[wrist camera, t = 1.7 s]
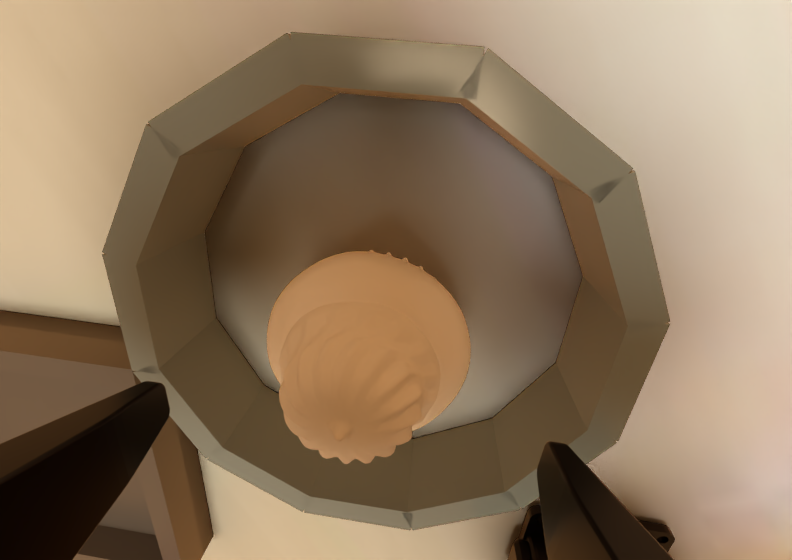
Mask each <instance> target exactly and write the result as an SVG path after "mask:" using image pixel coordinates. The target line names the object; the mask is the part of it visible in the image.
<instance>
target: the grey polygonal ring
mask: <svg viewBox="0 0 792 560" xmlns="http://www.w3.org/2000/svg"><path fill="white" fill-rule="evenodd" d="M483 54H484V47H482V46H468V45H455V44H442V43H429V42H416V41H403V40H389V39H376V38H363V37H350V36H337V35H324V34H310V33H297V32H291V35H290V34H288V33H286V34H284V35H283V36H281V37H280V38H278V39H277V40H275V41H274V42H272V43H270V44H269V45H267V46H266V47H264V48H263V49H261V50H259V51H258V52H256V53H255V54H253V55H252V56H250V57H249V58H247V59H245V60H244V61H242V62H241V63H239V64H238V65H236V66H234V67H233V68H231V69H230V70H228V71H227V72H225V73H224V74H222V75H220V76H219V77H217V78H216V79H214V80H213V81H211V82H210V83H208V84H206V85H205V86H203V87H202V88H200V89H199V90H197V91H195V92H194V93H192V94H191V95H189V96H188V97H186V98H185V99H183V100H181V101H180V102H178V103H177V104H175V105H174V106H172V107H170V108H169V109H167V110H166V111H164V112H163V113H161V114H160V115H158V116H156V117H155V118H153V119H152V120H150V121H149V122H148V123H149V124H146V126H145V129H144V132H143V135H142V138H141V141H140V144H139V147H138V149H137V152H136V155H135V158H134V161H133V164H132V167H131V170H130V173H129V176H128V179H127V181H126V184H125V187H124V190H123V193H122V196H121V199H120V202H119V205H118V208H117V211H116V213H115V216H114V219H113V222H112V225H111V228H110V231H109V234H108V237H107V240H106V243H105V245H104V248H103V251H102V252H103V253H105V254H102V256H103V259H104V263H105V267H106V271H107V275H108V279H109V283H110V287H111V291H112V295H113V299H114V302H115V306H116V310H117V314H118V318H119V322H120V326H121V330H122V334H123V338H124V341H125V345H126V349H127V353H128V357H129V361H130V365H131V369H132V371H134V372H133V373H134V374H135V375H136V377H137V378H138V379H139V380H140V381H141V382H144V381H152V382H158V383H162V384H163V385H164V386H165V388H166V392H167V397H168V401H169V406H170V414H169V416H170V417H171V418H172V419H173V420H174V422H175V423H176V424H177V425H178V426H179V427H180V429H181V430H182V431H183V432H184V433H185V435H186V436H187V437H188V438H189V439H190V440H191V442H192V443H193V444H194V445H195V446H196V448H197V449H198V450H199V451H200V452H201V453H202V455H203V456H204V457H205V458H208V457H209V458H208V459H207V460H209V461H211V462H213V463H214V464H216V465H218V466H220V467H222V468H223V469H225V470H227V471H229V472H231V473H233V474H234V475H236V476H238V477H240V478H242V479H243V480H245V481H247V482H249V483H251V484H253V485H254V486H256V487H258V488H260V489H262V490H263V491H265V492H267V493H269V494H271V495H273V496H274V497H276V498H278V499H280V500H282V501H284V502H285V503H287V504H289V505H291V506H293V507H294V508H296V509H298V510H300V511H302V512H303V511H304V513H310V514H316V515H322V516H328V517H334V518H340V519H346V520H352V521H358V522H364V523H370V524H376V525H382V526H388V527H394V528H400V529H406V530H411V529H412V530H417V529H422V528H427V527H433V526H438V525H443V524H448V523H454V522H459V521H464V520H469V519H475V518H480V517H485V516H490V515H496V514H501V513H506V512H511V511H517V510H520V508H522V509H523V508H524V507H526V506H527V505H529V504H530V503H532V502H533V501H534V500H536V499H537V498H539V490H538V482H537V467H538V463H539V460H540V457H541V454H542V451H543V448H544V446H545V444H546V442H548V441H553V442H560V443H565V444H567V445H568V446H569V447H570V448H571V449H572V450H573V451H574V452H575V453H576V454H577V455H578V457H579V458H580V459H581V460H582V461H583V462H584V463H585V464H587V463H589V462H590V461H591V460H593V459H594V458H596V457H597V456H599V455H600V454H601V453H603V452H604V451H606V450H607V449H609V448H610V447H611V446H613V445H614V444H616V441H618V440H619V438H620V436H621V434H622V431H623V429H624V427H625V425H626V422H627V420H628V418H629V416H630V413H631V411H632V409H633V407H634V404H635V402H636V400H637V397H638V395H639V393H640V391H641V388H642V386H643V384H644V382H645V379H646V377H647V375H648V373H649V370H650V368H651V366H652V364H653V361H654V359H655V357H656V355H657V352H658V350H659V348H660V346H661V343H662V341H663V339H664V336H665V334H666V332H667V330H668V327H669V325H670V324H669V323H668V322H670V318H669V314H668V310H667V306H666V301H665V297H664V293H663V289H662V284H661V280H660V276H659V272H658V267H657V263H656V259H655V255H654V250H653V246H652V242H651V237H650V233H649V229H648V225H647V220H646V216H645V212H644V208H643V203H642V199H641V195H640V191H639V186H638V182H637V178H636V174H635V171H632V169H633V168H632V167H631V166H630V165H628V164H627V163H626V162H625V161H624V160H622V159H621V158H620V157H619V156H618V155H616V154H615V153H614V152H613V151H612V150H610V149H609V148H608V147H607V146H606V145H604V144H603V143H602V142H601V141H600V140H598V139H597V138H596V137H595V136H594V135H592V134H591V133H590V132H589V131H587V130H586V129H585V128H584V127H583V126H581V125H580V124H579V123H578V122H577V121H575V120H574V119H573V118H572V117H571V116H569V115H568V114H567V113H566V112H565V111H563V110H562V109H561V108H560V107H559V106H557V105H556V104H555V103H554V102H553V101H551V100H550V99H549V98H548V97H546V96H545V95H544V94H543V93H542V92H540V91H539V90H538V89H537V88H536V87H534V86H533V85H532V84H531V83H530V82H528V81H527V80H526V79H525V78H524V77H522V76H521V75H520V74H519V73H518V72H516V71H515V70H514V69H513V68H511V67H510V66H509V65H508V64H507V63H505V62H504V61H503V60H502V59H501V58H499V57H498V56H497V55H496V54H495V53H493V52H492V51H491V50H490V49H489V48H488V49H487V51H486V52H485V54H484V55H483ZM339 93H345V94H356V95H368V96H379V97H391V98H402V99H414V100H425V101H437V102H448V103H460V104H461V105H462V106H463V107H465V108H466V109H467V110H468V111H470V112H471V113H472V114H473V115H475V116H476V117H477V118H479V119H480V120H481V121H482V122H484V123H485V124H486V125H487V126H489V127H490V128H491V129H492V130H494V131H495V132H496V133H498V134H499V135H500V136H501V137H503V138H504V139H505V140H506V141H508V142H509V143H510V144H511V145H513V146H514V147H515V148H517V149H518V150H519V151H520V152H522V153H523V154H524V155H525V156H527V157H528V158H529V159H530V160H532V161H533V162H534V163H535V164H537V165H538V166H539V167H541V168H542V169H543V170H544V171H546V172H547V173H548V174H549V175H551V176H552V178H553V181H554V184H555V188H556V191H557V194H558V197H559V201H560V204H561V207H562V210H563V213H564V217H565V220H566V223H567V226H568V229H569V233H570V236H571V239H572V242H573V245H574V249H575V252H576V255H577V258H578V262H579V265H580V268H581V271H582V274H583V277H582V281H581V284H580V287H579V290H578V293H577V297H576V300H575V303H574V306H573V309H572V313H571V316H570V319H569V322H568V325H567V329H566V332H565V335H564V338H563V341H562V345H561V348H560V351H559V354H558V357H557V361H556V363H555V364H554V365H553V366H552V367H550V368H549V369H548V370H547V371H546V372H545V373H544V374H542V375H541V376H540V377H539V378H538V379H537V380H536V381H534V382H533V383H532V384H531V385H530V386H529V387H528V388H526V389H525V390H524V391H523V392H522V393H521V394H520V395H518V396H517V397H516V398H515V399H514V400H513V401H512V402H510V403H509V404H508V405H507V406H506V407H505V408H504V409H502V410H501V411H500V412H499V413H498V414H497V415H496V416H495V417H493V418H492V419H488V420H484V421H480V422H476V423H473V424H469V425H465V426H461V427H457V428H453V429H450V430H446V431H442V432H438V433H434V434H431V435H427V436H423V437H419V438H415V439H410V440H409V441H408V442H406V443H404V444H401V445H396V448H395V451H394V453H393V454H392V455H391V456H388V457H380V456H375V457H374V459H373V460H372V461H371V462H370V463H367V464H365V463H363V462H361V461H359V460H358V459H354V460H352V461H351V462H350V463H348V464H344V463H343V462H342V461H341V460H340V459H339V458H338V457H333V458H328V459H326V458H323V457H322V456H321V455H320V453H319V450H313V449H309V448H306V447H305V446H304V445H303V444H302V442H301V441H300V439H299V437H298V436H297V435H295V434H294V433H292V432H291V430H290V429H289V428H288V426H287V424H286V422H285V419H284V411H283V409H282V407H281V404H280V401H279V394H278V393H276V392H274V391H273V390H271V389H269V388H268V387H266V386H264V385H263V383H262V382H261V380H260V379H259V378H258V376H257V375H256V373H255V372H254V370H253V369H252V368H251V366H250V365H249V363H248V362H247V361H246V359H245V358H244V356H243V355H242V354H241V352H240V351H239V349H238V348H237V347H236V345H235V344H234V342H233V341H232V339H231V338H230V337H229V335H228V334H227V332H226V331H225V330H224V328H223V327H222V325H221V324H220V323H219V321H218V320H217V318H216V313H215V306H214V298H213V291H212V283H211V276H210V268H209V261H208V253H207V246H206V238H205V230H206V228H207V226H208V224H209V222H210V220H211V218H212V215H213V213H214V211H215V209H216V207H217V205H218V203H219V201H220V198H221V196H222V194H223V192H224V190H225V188H226V186H227V184H228V182H229V179H230V177H231V175H232V173H233V171H234V169H235V167H236V165H237V162H238V160H239V158H240V156H241V154H242V152H243V150H244V148H245V146H247V145H248V144H250V143H252V142H254V141H255V140H257V139H259V138H261V137H263V136H264V135H266V134H268V133H270V132H271V131H273V130H275V129H277V128H279V127H280V126H282V125H284V124H286V123H287V122H289V121H291V120H293V119H295V118H296V117H298V116H300V115H302V114H303V113H305V112H307V111H309V110H311V109H312V108H314V107H316V106H318V105H319V104H321V103H323V102H325V101H327V100H328V99H330V98H332V97H334V96H335V95H337V94H339Z"/></svg>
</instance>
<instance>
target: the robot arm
mask: <svg viewBox="0 0 792 560" xmlns="http://www.w3.org/2000/svg"><path fill="white" fill-rule="evenodd" d="M169 414H170V406H169V401H168V397H167V392H166V388H165V386H164V385H163V384H162V383H158V382H152V381H144V382H141V383H139V384H137V385H135V386H132V387H130V388H128V389H125V390H123V391H121V392H118V393H116V394H114V395H111V396H109V397H107V398H105V399H102V400H100V401H98V402H95V403H93V404H91V405H88V406H86V407H84V408H81V409H79V410H77V411H75V412H72V413H70V414H68V415H65V416H63V417H61V418H58V419H56V420H54V421H51V422H49V423H47V424H45V425H42V426H40V427H38V428H35V429H33V430H31V431H28V432H26V433H24V434H21V435H19V436H17V437H15V438H12V439H10V440H8V441H5V442H3V443H1V444H0V560H73V559H74V557H75V556H76V555H77V553H78V552H79V550H80V549H81V548H82V546H83V545H84V544H85V542H86V541H87V540H88V538H89V537H90V535H91V534H92V533H93V531H94V530H95V529H96V527H97V526H98V525H99V523H100V522H101V520H102V519H103V518H104V516H105V515H106V514H107V512H108V511H109V509H110V508H111V507H112V505H113V504H114V503H115V501H116V500H117V499H118V497H119V496H120V494H121V493H122V492H123V490H124V489H125V487H126V486H127V485H128V483H129V482H130V480H131V479H132V477H133V476H134V474H135V472H136V471H137V469H138V468H139V466H140V464H141V463H142V461H143V459H144V458H145V456H146V454H147V453H148V451H149V449H150V448H151V446H152V445H153V443H154V441H155V440H156V438H157V436H158V435H159V433H160V431H161V430H162V428H163V426H164V425H165V423H166V421H167V419H168V417H169ZM537 482H538V490H539V497H540V505H535V506H532V507H530V508H529V510H528V512H527V515H526V518H525V521H524V524H523V527H522V530H521V533H520V536H519V538H517V539H516V540H515V542H514V543H513V545H512V548H511V551H510V554H509V557H508V560H674V559H673V558H672V557H671V556H670V555H669V553H668V551H669V549H670V548H671V546H672V544H673V543H674V540H675V538H674V536H673V534H672V532H671V531H670V529H669V527H667V526H666V525H663V524H657V523H651V522H645V521H638V520H637V519H636V518H635V517H634V516H633V515H632V514H631V513H630V511H629V510H628V509H627V508H626V507H625V506H624V505H623V504H622V503H621V502H620V501H619V500H618V499H617V497H616V496H615V495H614V494H613V493H612V492H611V491H610V490H609V489H608V488H607V487H606V486H605V485H604V483H603V482H602V481H601V480H600V479H599V478H598V477H597V476H596V475H595V474H594V473H593V472H592V471H591V469H590V468H589V467H588V466H587V465H586V464H585V463H584V462H583V461H582V460H581V459H580V458H579V457H578V455H577V454H576V453H575V452H574V451H573V450H572V449H571V448H570V447H569V446H568V445H567V444H565V443H560V442H553V441H548V442H546V444H545V446H544V448H543V451H542V454H541V457H540V460H539V463H538V467H537Z"/></svg>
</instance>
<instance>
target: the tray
mask: <svg viewBox="0 0 792 560" xmlns="http://www.w3.org/2000/svg"><path fill="white" fill-rule="evenodd" d="M133 372H134V371H132V369H131V365H130V361H129V357H128V353H127V349H126V345H125V341H124V338H123V334H122V330H121V327H118V326H111V325H103V324H96V323H89V322H81V321H74V320H67V319H59V318H52V317H45V316H38V315H30V314H23V313H16V312H8V311H1V310H0V444H1V443H3V442H5V441H8V440H10V439H12V438H15V437H17V436H19V435H21V434H24V433H26V432H28V431H31V430H33V429H35V428H38V427H40V426H42V425H45V424H47V423H49V422H51V421H54V420H56V419H58V418H61V417H63V416H65V415H68V414H70V413H72V412H75V411H77V410H79V409H81V408H84V407H86V406H88V405H91V404H93V403H95V402H98V401H100V400H102V399H105V398H107V397H109V396H111V395H114V394H116V393H118V392H121V391H123V390H125V389H128V388H130V387H132V386H135V385H137V384H139V383H141V381H140V380H139V379H138V378H137V377H136V375H135V374H134V373H133ZM212 537H213V532H212V527H211V521H210V516H209V511H208V506H207V500H206V495H205V490H204V484H203V479H202V474H201V468H200V463H199V458H198V453H197V448H196V446H195V445H194V444H193V443H192V442H191V440H190V439H189V438H188V437H187V436H186V435H185V433H184V432H183V431H182V430H181V429H180V427H179V426H178V425H177V424H176V423H175V422H174V420H173V419H172V418H171V417H170V416H169V417H168V419H167V421H166V423H165V425H164V426H163V428H162V430H161V431H160V433H159V435H158V436H157V438H156V440H155V441H154V443H153V445H152V446H151V448H150V449H149V451H148V453H147V454H146V456H145V458H144V459H143V461H142V463H141V464H140V466H139V468H138V469H137V471H136V472H135V474H134V476H133V477H132V479H131V480H130V482H129V483H128V485H127V486H126V487H125V489H124V490H123V492H122V493H121V494H120V496H119V497H118V499H117V500H116V501H115V503H114V504H113V505H112V507H111V508H110V509H109V511H108V512H107V514H106V515H105V516H104V518H103V519H102V520H101V522H100V523H99V525H98V526H97V527H96V529H95V530H94V531H93V533H92V534H91V535H90V537H89V538H88V540H87V541H86V542H85V544H84V545H83V546H82V548H81V549H80V550H79V552H78V553H77V555H76V556H75V557H74V559H73V560H201V558H202V556H203V554H204V552H205V550H206V548H207V547H208V545H209V543H210V541H211V539H212Z"/></svg>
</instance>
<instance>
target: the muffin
mask: <svg viewBox="0 0 792 560" xmlns="http://www.w3.org/2000/svg"><path fill="white" fill-rule="evenodd" d="M267 351H268V357H269V362H270V365H271V368H272V371H273V373H274V374H275V376H276V378H277V380H278V381H279V383H280V385H281V386H280V390H279V401H280V404H281V407H282V409H283V411H284V419H285V422H286V424H287V426H288V428H289V429H290V430H291V432H292V433H294V434H295V435H297V436H298V437H299V439H300V441H301V442H302V444H303V445H304V446H305V447H306V448H309V449H313V450H319V453H320V455H321V456H322V457H323V458H326V459H328V458H333V457H338V458H339V459H340V460H341V461H342V462H343V463H344V464H348V463H350V462H351V461H352V460H354V459H358V460H359V461H361V462H363V463H365V464H367V463H370V462H371V461H372V460H373V459H374V457H375V456H380V457H388V456H391V455H392V454H393V453H394V451H395V448H396V445H401V444H404V443H406V442H408V441H409V440H410V439H411V438H412V431H414V430H416V429H418V428H420V427H422V426H424V425H426V424H428V423H429V422H430V421H432V420H433V419H435V418H436V417H437V416H438V415H439V414H440V413H441V412H443V411H444V410H445V408H446V407H447V406H448V405H449V404H450V403H451V402H452V401H453V399H454V398H455V397H456V395H457V394H458V392H459V390H460V389H461V387H462V385H463V383H464V381H465V378H466V376H467V372H468V368H469V363H470V353H471V348H470V338H469V332H468V327H467V324H466V321H465V318H464V316H463V313H462V311H461V309H460V307H459V306H458V304H457V302H456V301H455V299H454V298H453V297H452V295H451V294H450V293H449V292H448V291H447V289H446V288H445V287H444V286H443V285H442V284H441V283H439V282H438V281H437V280H436V277H433V276H431V275H430V274H428V273H427V272H425V271H424V270H423V267H422V266H415V265H413V264H411V263H409V262H408V259H407V258H402V259H399V258H396V257H393V256H392V255H391V253H390V252H387V253H386V254H381V253H375V252H374V251H373V250H370V251H369V252H366V251H351V252H344V253H339V254H336V255H333V256H330V257H327V258H325V259H322V260H320V261H319V262H316V263H315V264H313V265H311V266H310V267H308V268H307V269H305V270H304V271H302V272H301V273H300V274H298V275H297V276H296V277H295V278H294V279H293V280H292V281H291V282H290V283H289V284H288V285H287V286H286V287H285V288H284V290H283V291H282V292H281V294H280V295H279V297H278V299H277V300H276V302H275V304H274V306H273V309H272V312H271V315H270V318H269V323H268V330H267Z"/></svg>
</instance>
